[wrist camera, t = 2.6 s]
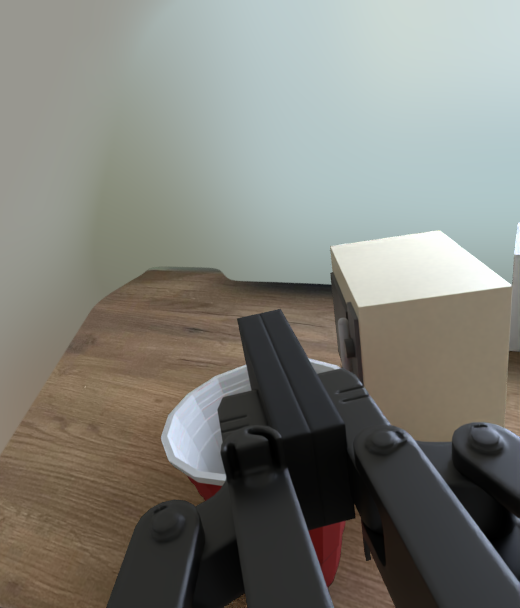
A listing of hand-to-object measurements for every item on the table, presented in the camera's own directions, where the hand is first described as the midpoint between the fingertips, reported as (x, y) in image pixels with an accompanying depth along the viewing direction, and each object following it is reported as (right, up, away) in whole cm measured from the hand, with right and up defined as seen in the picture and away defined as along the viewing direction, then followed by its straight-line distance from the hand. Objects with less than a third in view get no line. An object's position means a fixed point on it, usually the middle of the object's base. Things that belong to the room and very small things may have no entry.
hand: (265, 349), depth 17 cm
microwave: (+13, -7, +27) cm, 30 cm away
